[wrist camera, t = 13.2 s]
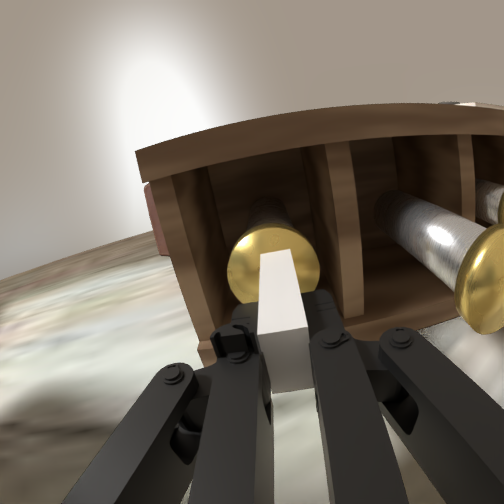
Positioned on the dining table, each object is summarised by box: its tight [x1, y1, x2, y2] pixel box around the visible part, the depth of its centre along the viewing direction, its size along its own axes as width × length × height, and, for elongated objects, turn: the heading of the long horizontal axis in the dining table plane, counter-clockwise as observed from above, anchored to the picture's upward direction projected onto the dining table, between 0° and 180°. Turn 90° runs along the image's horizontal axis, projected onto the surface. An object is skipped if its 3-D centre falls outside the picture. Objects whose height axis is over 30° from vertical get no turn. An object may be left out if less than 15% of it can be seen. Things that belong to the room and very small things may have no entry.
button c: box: [227, 197, 320, 304], centre depth 21 cm, size 13×5×5 cm, turn 178°
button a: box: [475, 178, 504, 225], centre depth 20 cm, size 13×5×5 cm, turn 178°
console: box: [135, 102, 504, 368], centre depth 22 cm, size 14×33×17 cm, turn 88°
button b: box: [373, 190, 504, 335], centre depth 14 cm, size 13×5×5 cm, turn 178°
